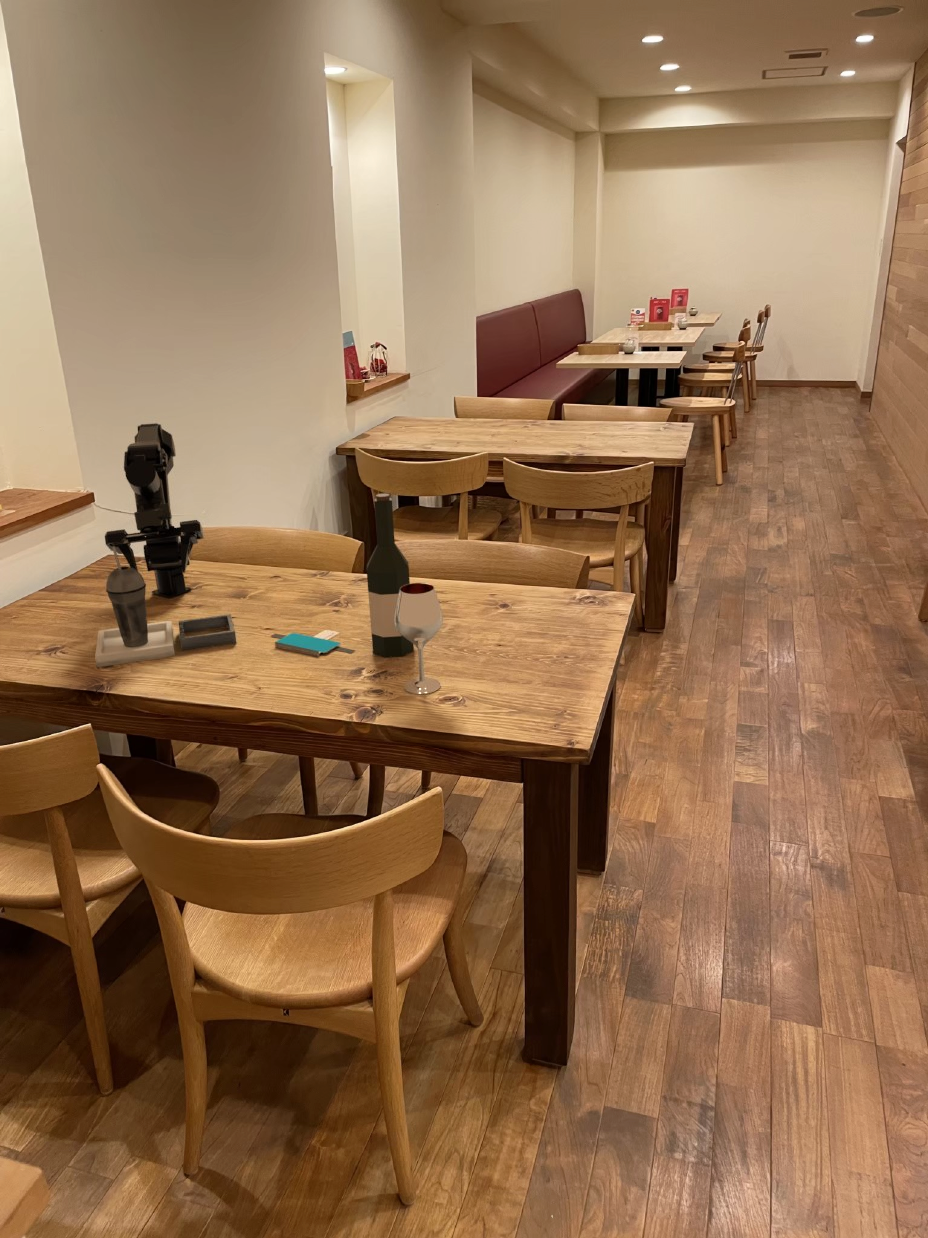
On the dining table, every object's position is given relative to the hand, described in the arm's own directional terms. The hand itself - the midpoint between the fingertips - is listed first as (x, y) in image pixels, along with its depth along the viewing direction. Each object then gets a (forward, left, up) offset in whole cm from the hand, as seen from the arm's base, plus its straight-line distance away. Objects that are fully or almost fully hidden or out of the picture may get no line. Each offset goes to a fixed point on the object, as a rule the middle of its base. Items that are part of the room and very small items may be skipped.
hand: (160, 575), depth 183 cm
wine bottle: (+49, +15, -11) cm, 52 cm away
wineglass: (+64, +5, -11) cm, 65 cm away
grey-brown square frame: (+13, 0, -11) cm, 17 cm away
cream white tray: (+5, -11, -11) cm, 16 cm away
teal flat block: (+33, +10, -12) cm, 36 cm away
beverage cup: (+4, -11, -10) cm, 16 cm away
